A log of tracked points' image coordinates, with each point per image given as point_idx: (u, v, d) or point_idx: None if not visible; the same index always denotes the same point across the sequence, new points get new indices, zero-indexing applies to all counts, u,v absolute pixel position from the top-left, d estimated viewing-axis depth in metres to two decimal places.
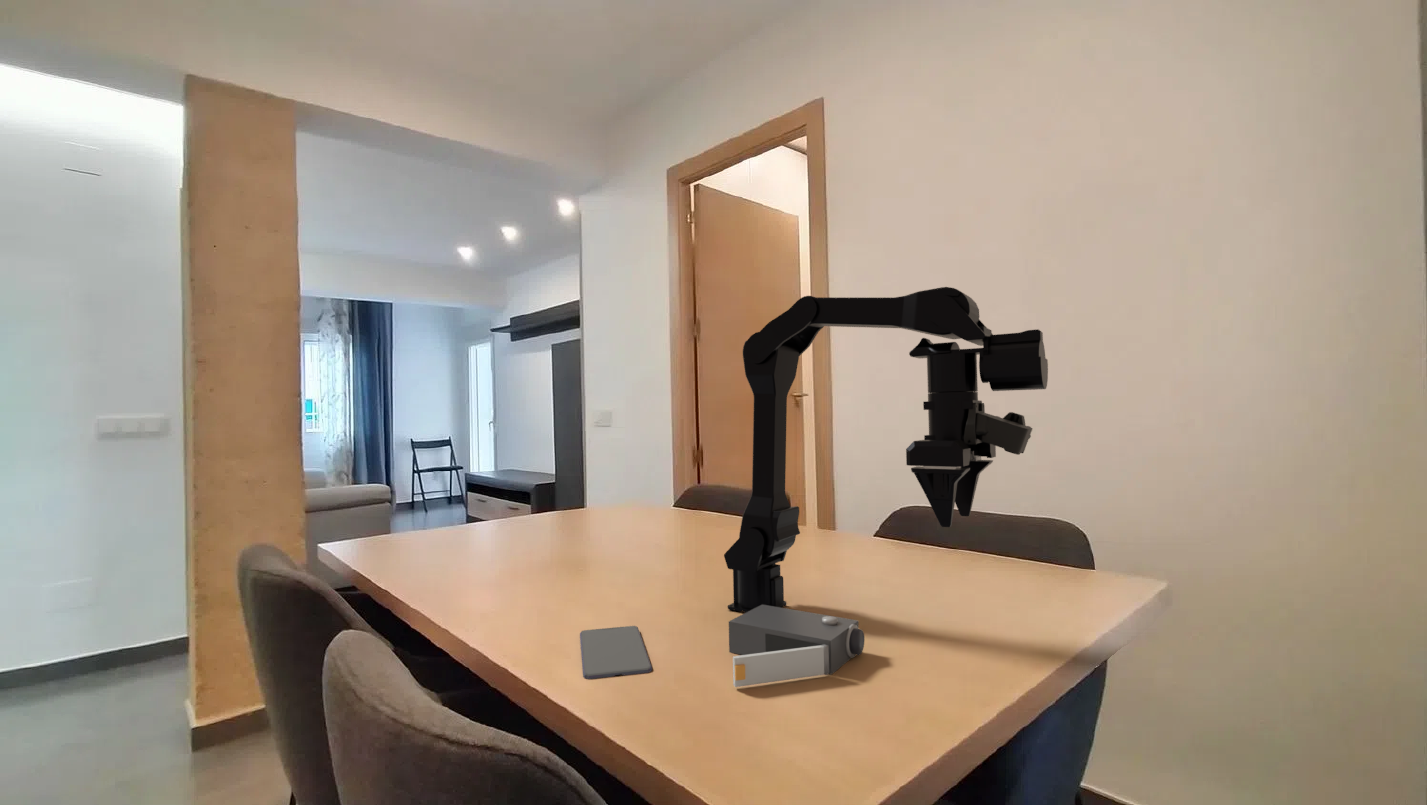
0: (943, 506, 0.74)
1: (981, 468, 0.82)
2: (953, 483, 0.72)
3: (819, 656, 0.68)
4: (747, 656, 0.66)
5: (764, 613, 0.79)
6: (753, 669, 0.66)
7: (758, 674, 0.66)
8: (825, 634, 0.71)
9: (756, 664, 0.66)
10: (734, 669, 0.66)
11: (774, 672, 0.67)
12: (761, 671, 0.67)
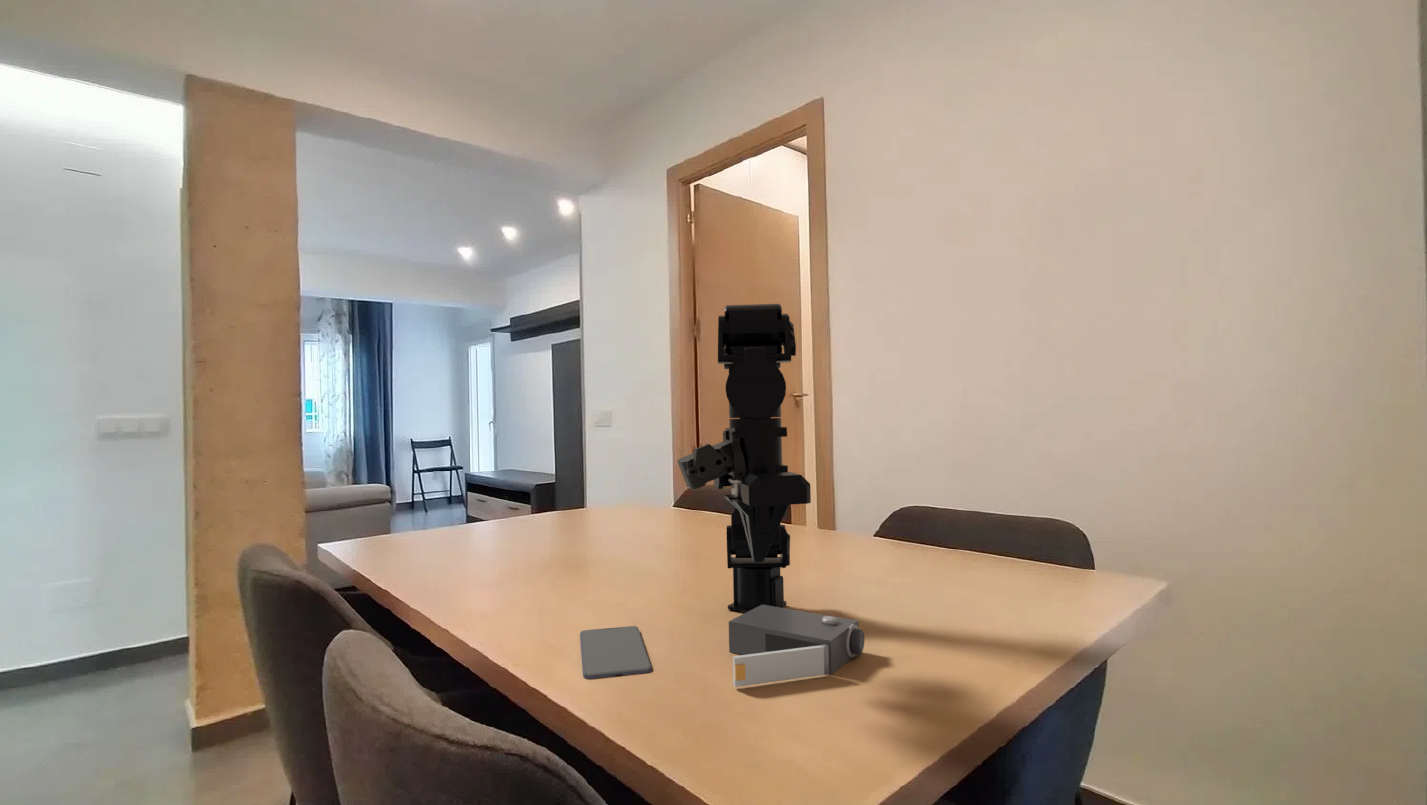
0: None
1: (740, 507, 0.70)
2: (739, 511, 0.72)
3: (819, 656, 0.68)
4: (747, 656, 0.66)
5: (764, 613, 0.79)
6: (753, 669, 0.66)
7: (758, 674, 0.66)
8: (825, 634, 0.71)
9: (756, 664, 0.66)
10: (734, 669, 0.66)
11: (774, 672, 0.67)
12: (761, 671, 0.67)
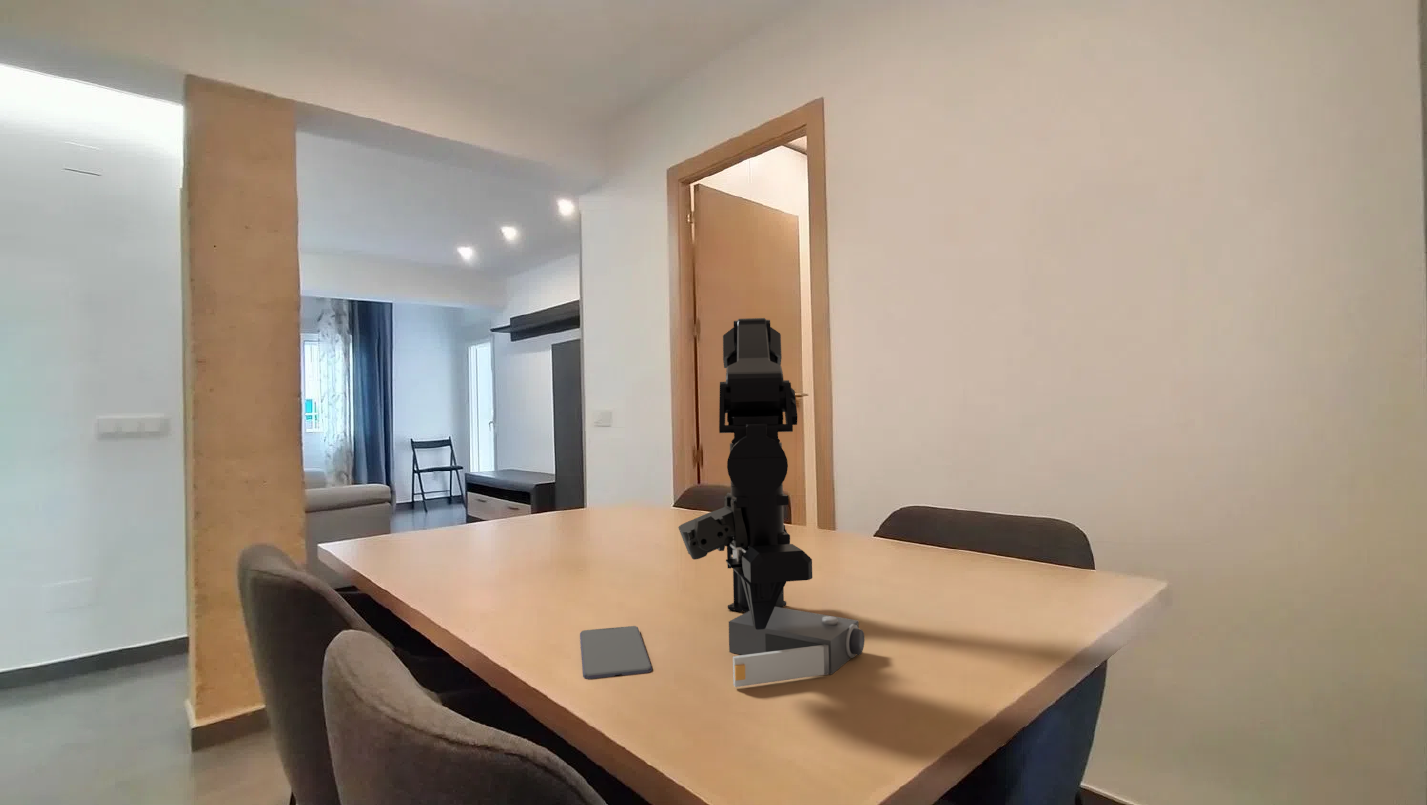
0: None
1: None
2: None
3: (819, 656, 0.68)
4: (747, 656, 0.66)
5: None
6: (753, 669, 0.66)
7: (758, 674, 0.66)
8: (825, 634, 0.71)
9: (756, 664, 0.66)
10: (734, 669, 0.66)
11: (774, 672, 0.67)
12: (761, 671, 0.67)
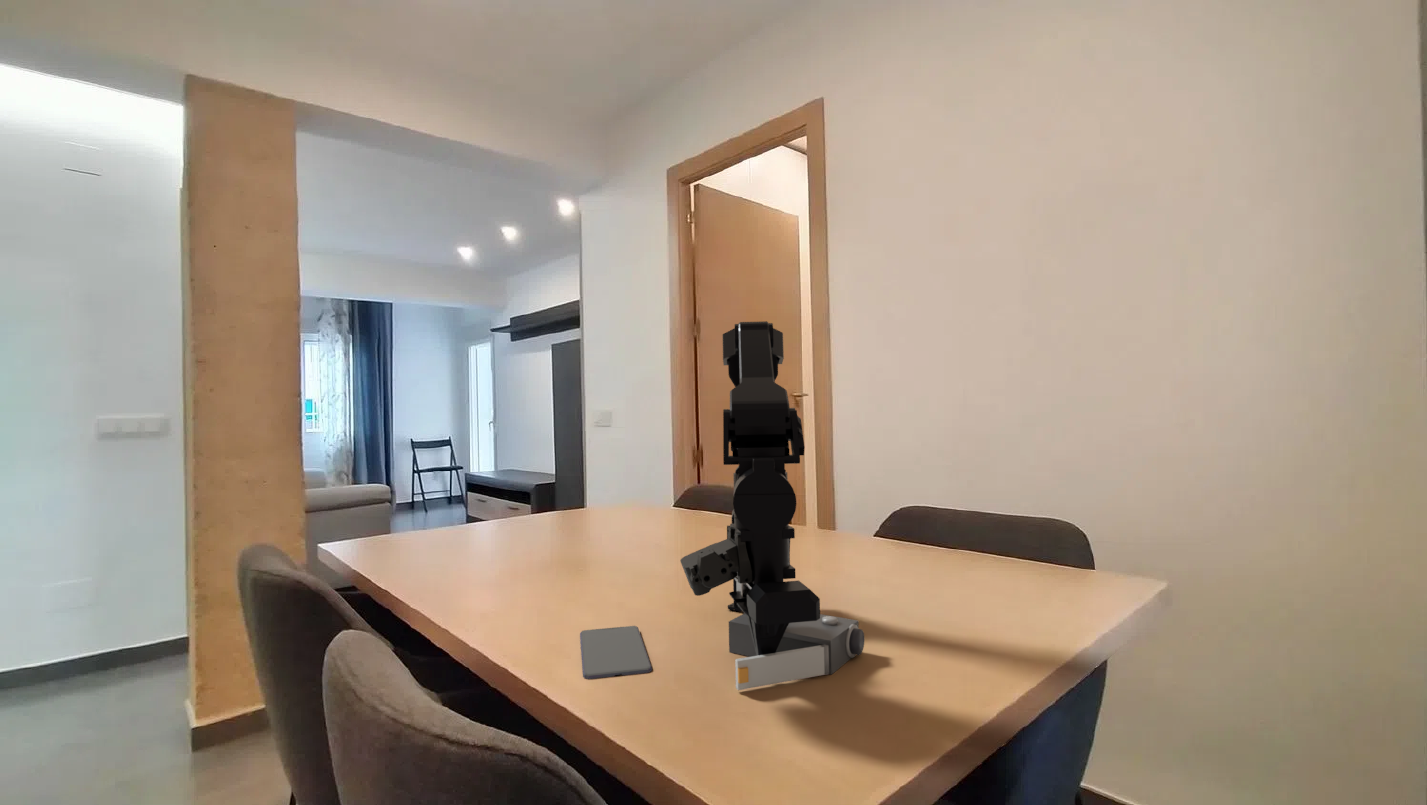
0: None
1: None
2: None
3: (819, 656, 0.68)
4: (749, 658, 0.66)
5: None
6: (756, 671, 0.66)
7: (760, 676, 0.66)
8: (825, 634, 0.71)
9: (759, 666, 0.66)
10: (737, 672, 0.65)
11: (776, 674, 0.67)
12: (763, 673, 0.66)
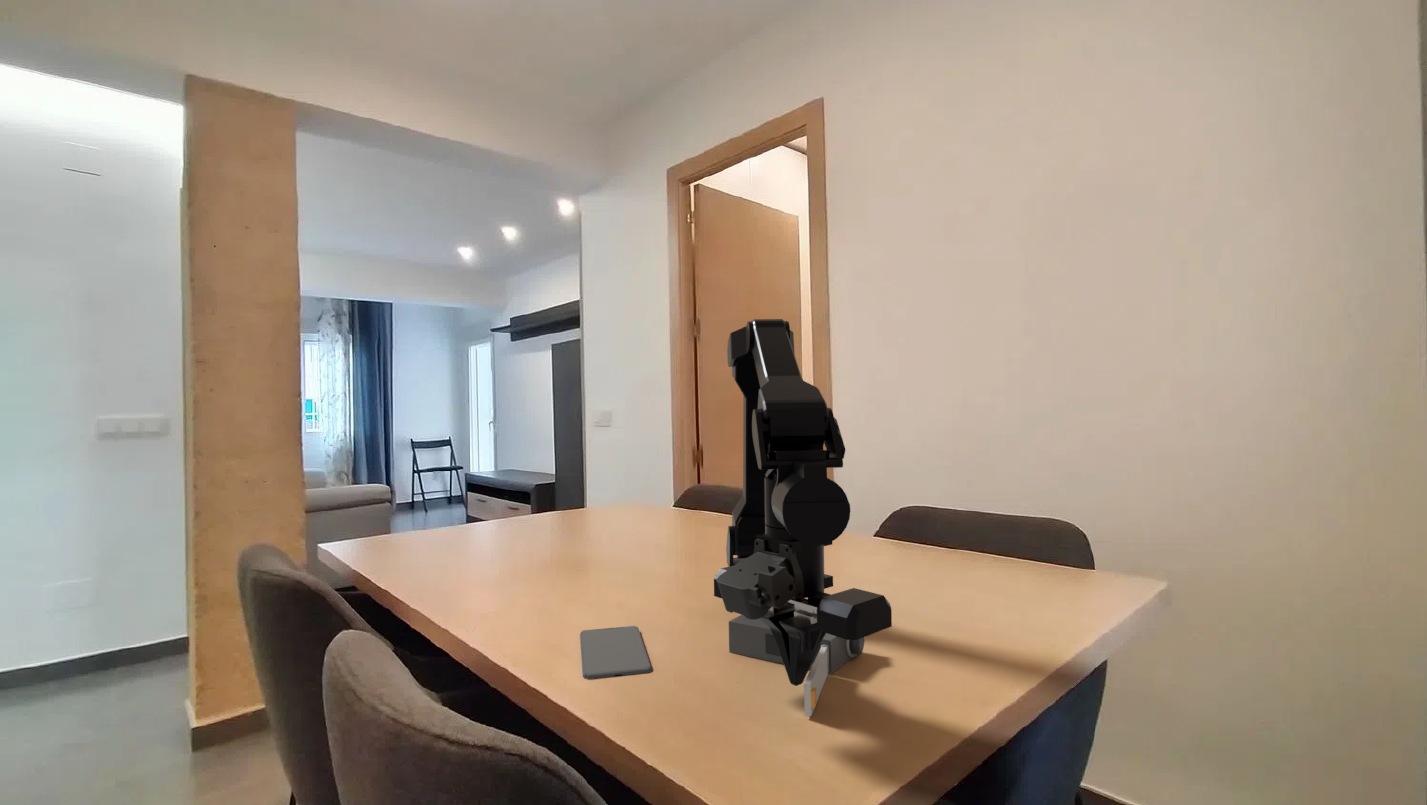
0: None
1: None
2: (770, 628, 0.64)
3: (826, 657, 0.68)
4: (811, 677, 0.61)
5: None
6: None
7: (815, 694, 0.62)
8: (825, 634, 0.71)
9: (815, 683, 0.61)
10: (809, 696, 0.59)
11: (818, 686, 0.63)
12: (816, 689, 0.62)
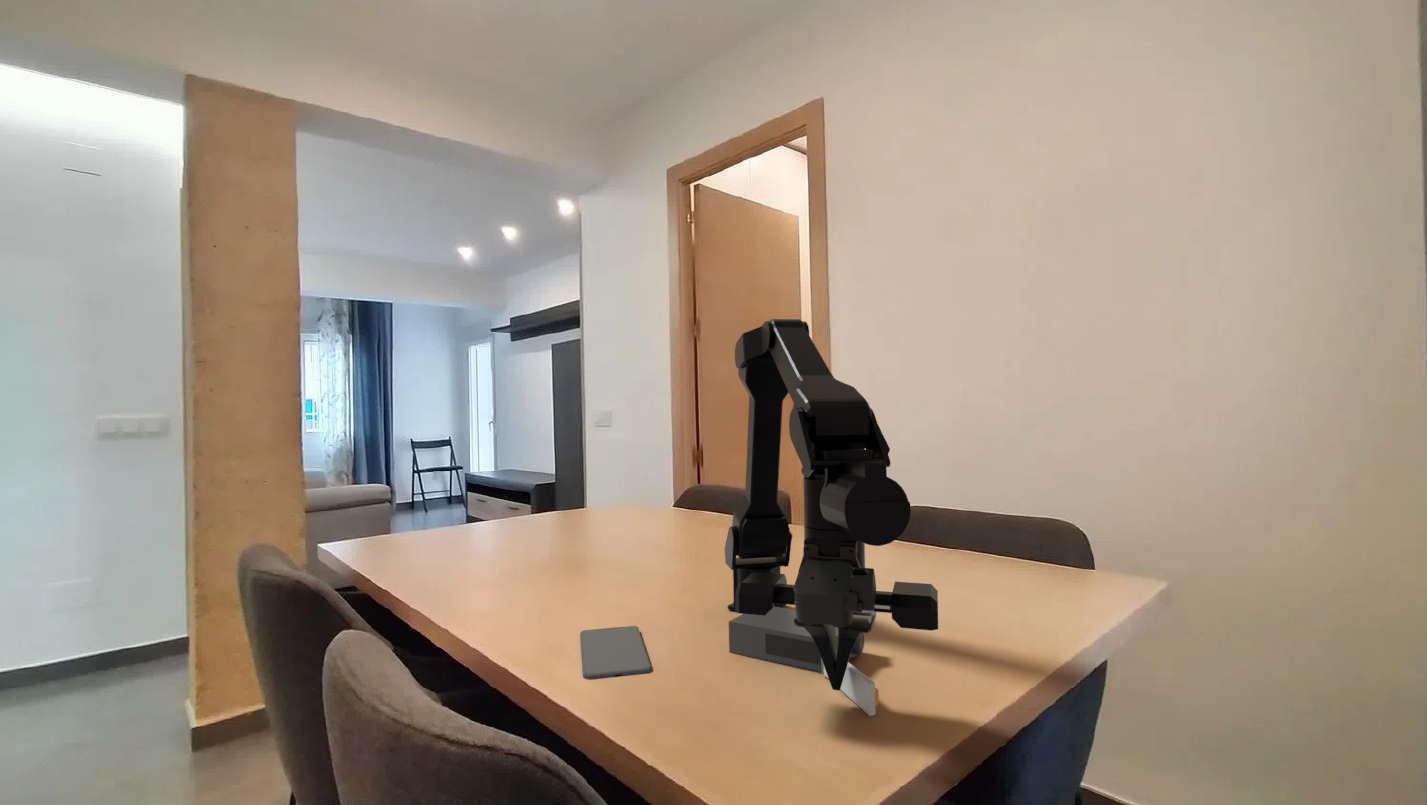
0: None
1: (838, 632, 0.60)
2: (812, 636, 0.61)
3: None
4: (865, 677, 0.60)
5: None
6: None
7: None
8: None
9: None
10: (874, 695, 0.59)
11: None
12: None
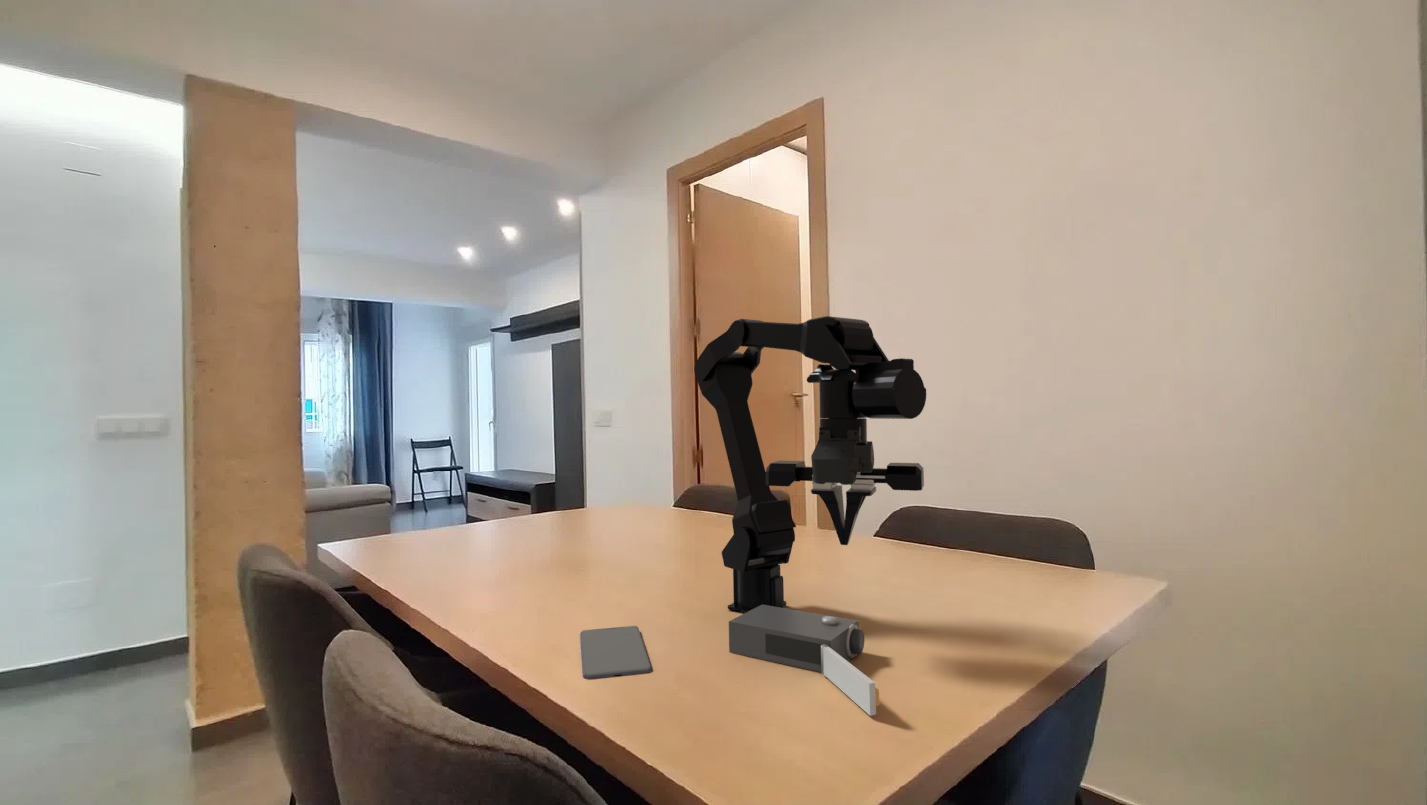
0: None
1: (846, 497, 0.78)
2: None
3: None
4: (866, 677, 0.60)
5: (764, 613, 0.79)
6: None
7: None
8: (825, 634, 0.71)
9: None
10: (874, 695, 0.59)
11: None
12: None
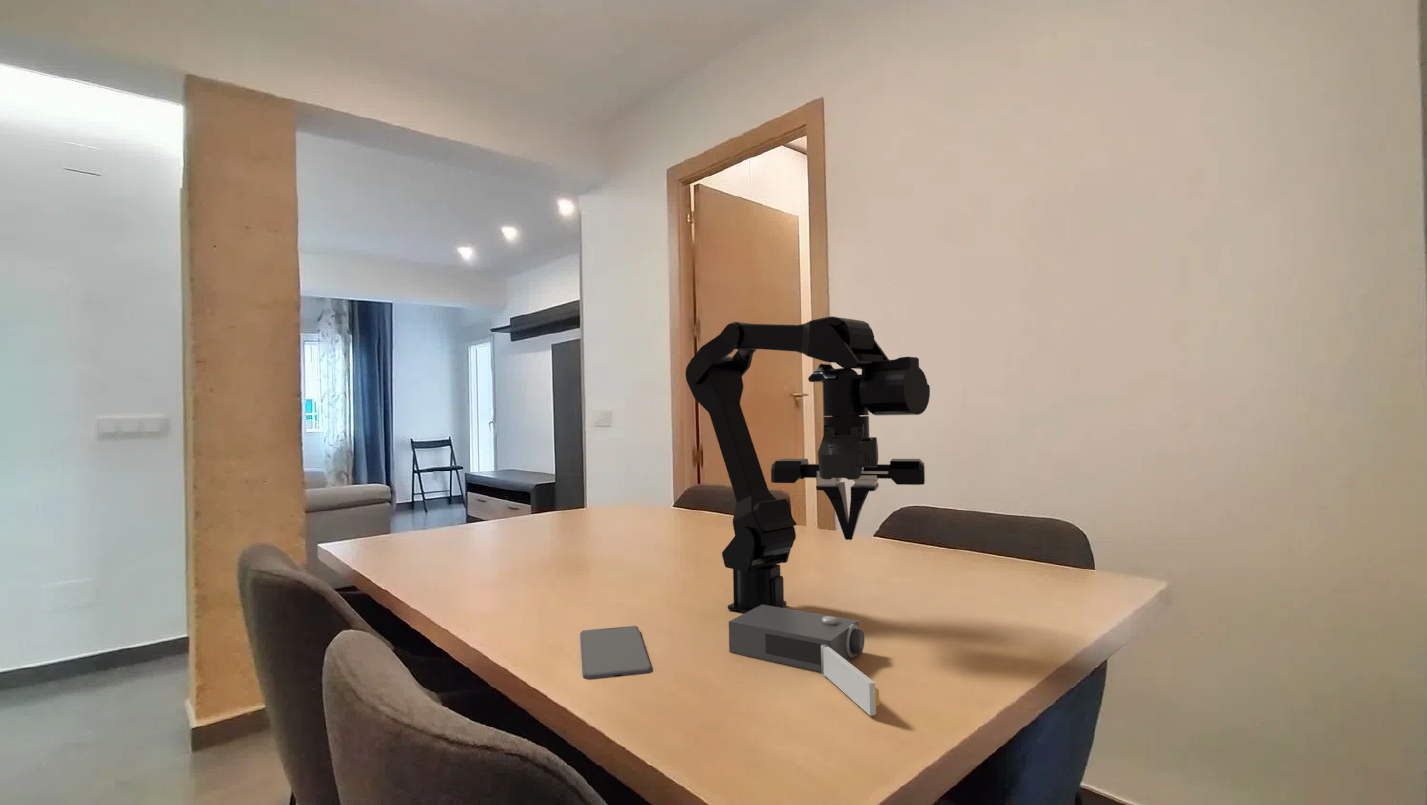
0: None
1: None
2: (829, 498, 0.81)
3: None
4: (866, 677, 0.60)
5: (764, 613, 0.79)
6: None
7: None
8: (825, 634, 0.71)
9: None
10: (874, 695, 0.59)
11: None
12: None
